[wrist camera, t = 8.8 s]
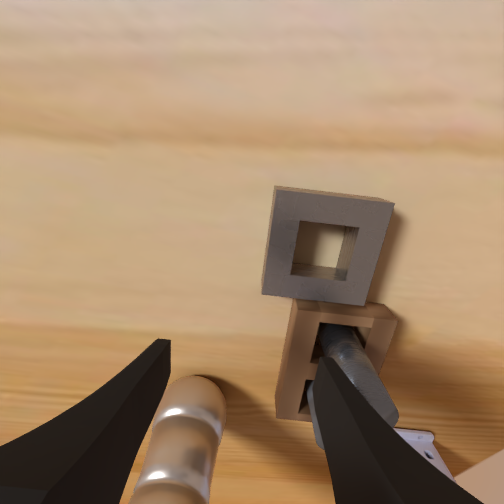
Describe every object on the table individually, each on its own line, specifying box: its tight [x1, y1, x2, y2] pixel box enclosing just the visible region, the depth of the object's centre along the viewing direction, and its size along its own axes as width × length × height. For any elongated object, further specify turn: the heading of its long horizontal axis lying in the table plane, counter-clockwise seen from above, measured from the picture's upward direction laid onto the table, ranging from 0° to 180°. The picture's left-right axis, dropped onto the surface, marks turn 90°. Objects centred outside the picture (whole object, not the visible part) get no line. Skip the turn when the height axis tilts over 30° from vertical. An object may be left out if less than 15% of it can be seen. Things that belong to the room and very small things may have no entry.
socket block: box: [262, 186, 395, 306], centre depth 20 cm, size 8×8×2 cm
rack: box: [275, 298, 398, 450], centre depth 22 cm, size 8×12×6 cm, turn 174°
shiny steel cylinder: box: [317, 322, 399, 428], centre depth 19 cm, size 3×3×9 cm
